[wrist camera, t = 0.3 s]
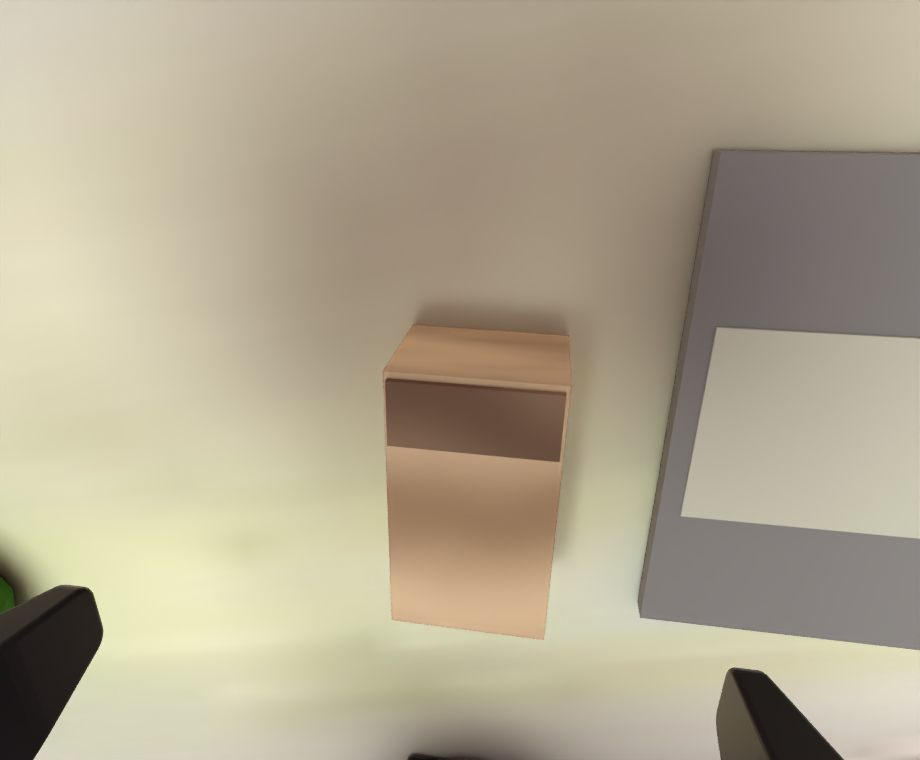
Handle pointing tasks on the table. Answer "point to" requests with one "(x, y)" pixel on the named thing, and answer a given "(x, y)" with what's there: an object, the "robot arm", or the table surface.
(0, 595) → the bell pepper
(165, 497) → the table surface
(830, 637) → the mat
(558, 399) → the copper block with band
